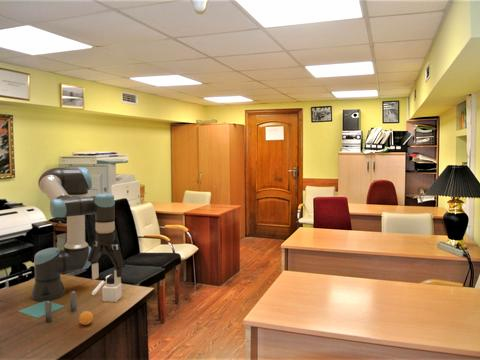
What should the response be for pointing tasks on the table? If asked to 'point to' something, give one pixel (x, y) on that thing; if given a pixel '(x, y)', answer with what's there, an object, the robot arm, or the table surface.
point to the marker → (98, 287)
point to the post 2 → (73, 301)
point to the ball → (86, 318)
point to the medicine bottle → (111, 290)
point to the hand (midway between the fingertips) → (106, 281)
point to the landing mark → (39, 309)
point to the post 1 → (48, 311)
